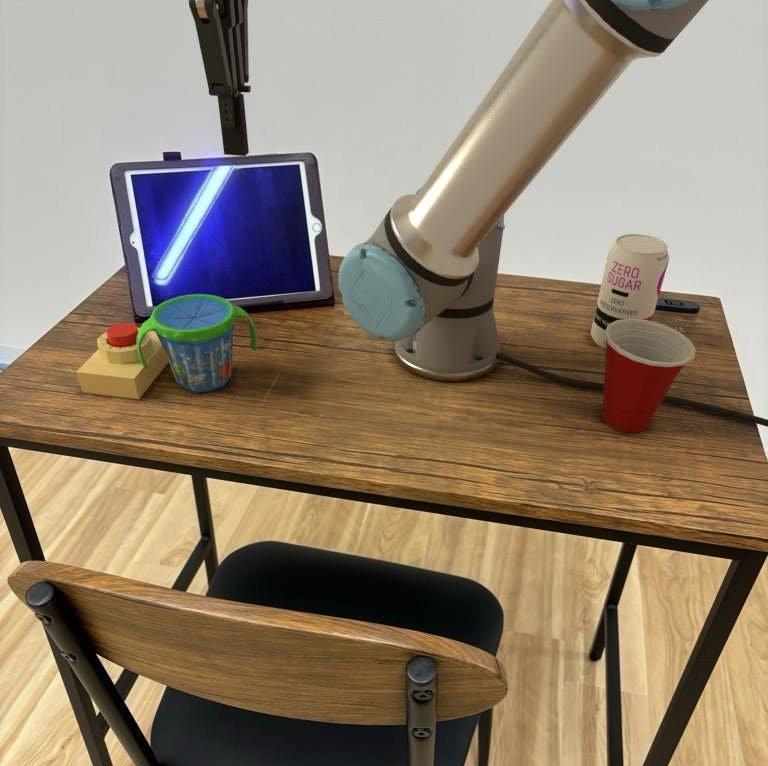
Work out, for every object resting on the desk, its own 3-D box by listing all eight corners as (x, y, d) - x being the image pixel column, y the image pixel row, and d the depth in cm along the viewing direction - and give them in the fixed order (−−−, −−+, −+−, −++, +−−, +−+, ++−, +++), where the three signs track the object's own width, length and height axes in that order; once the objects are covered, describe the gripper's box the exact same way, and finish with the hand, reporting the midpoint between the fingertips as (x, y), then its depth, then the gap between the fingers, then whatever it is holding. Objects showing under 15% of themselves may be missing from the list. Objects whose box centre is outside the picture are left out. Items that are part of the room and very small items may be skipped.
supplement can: (642, 331, 115) (668, 235, 105) (646, 357, 109) (675, 257, 99) (589, 325, 116) (610, 230, 106) (590, 351, 110) (613, 252, 100)
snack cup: (146, 408, 96) (131, 337, 89) (144, 367, 103) (129, 299, 96) (266, 393, 99) (260, 323, 92) (255, 355, 107) (248, 288, 100)
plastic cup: (673, 450, 91) (703, 365, 83) (584, 438, 93) (605, 353, 85) (666, 404, 99) (692, 322, 91) (584, 393, 101) (603, 312, 93)
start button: (117, 333, 101) (114, 321, 100) (144, 336, 101) (142, 324, 99) (104, 347, 98) (101, 335, 97) (132, 350, 98) (129, 338, 96)
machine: (125, 346, 108) (117, 314, 104) (177, 352, 107) (171, 320, 103) (82, 392, 98) (72, 359, 95) (138, 399, 97) (131, 366, 94)
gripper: (199, -96, 81) (225, 137, 97) (151, -91, 71) (188, 166, 87) (265, -93, 80) (280, 141, 96) (225, -88, 71) (249, 171, 86)
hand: (236, 153), depth 91 cm, fingers closed
